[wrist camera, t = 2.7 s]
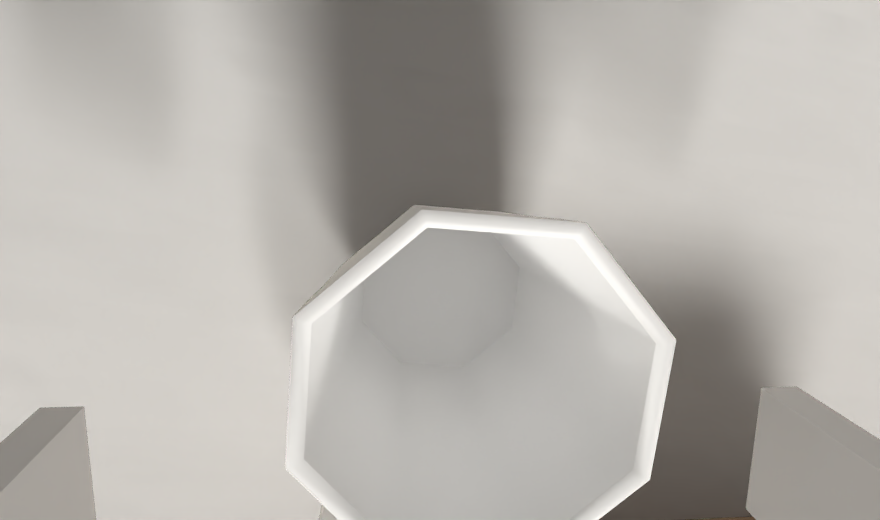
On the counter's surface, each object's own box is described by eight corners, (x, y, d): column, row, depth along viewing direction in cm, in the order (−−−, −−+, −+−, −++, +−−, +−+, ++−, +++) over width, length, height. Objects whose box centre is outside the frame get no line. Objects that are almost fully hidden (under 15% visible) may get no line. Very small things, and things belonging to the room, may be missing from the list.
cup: (598, 227, 19) (758, 315, 11) (436, 506, 21) (479, 753, 13) (381, 110, 18) (393, 119, 10) (225, 420, 19) (129, 638, 11)
